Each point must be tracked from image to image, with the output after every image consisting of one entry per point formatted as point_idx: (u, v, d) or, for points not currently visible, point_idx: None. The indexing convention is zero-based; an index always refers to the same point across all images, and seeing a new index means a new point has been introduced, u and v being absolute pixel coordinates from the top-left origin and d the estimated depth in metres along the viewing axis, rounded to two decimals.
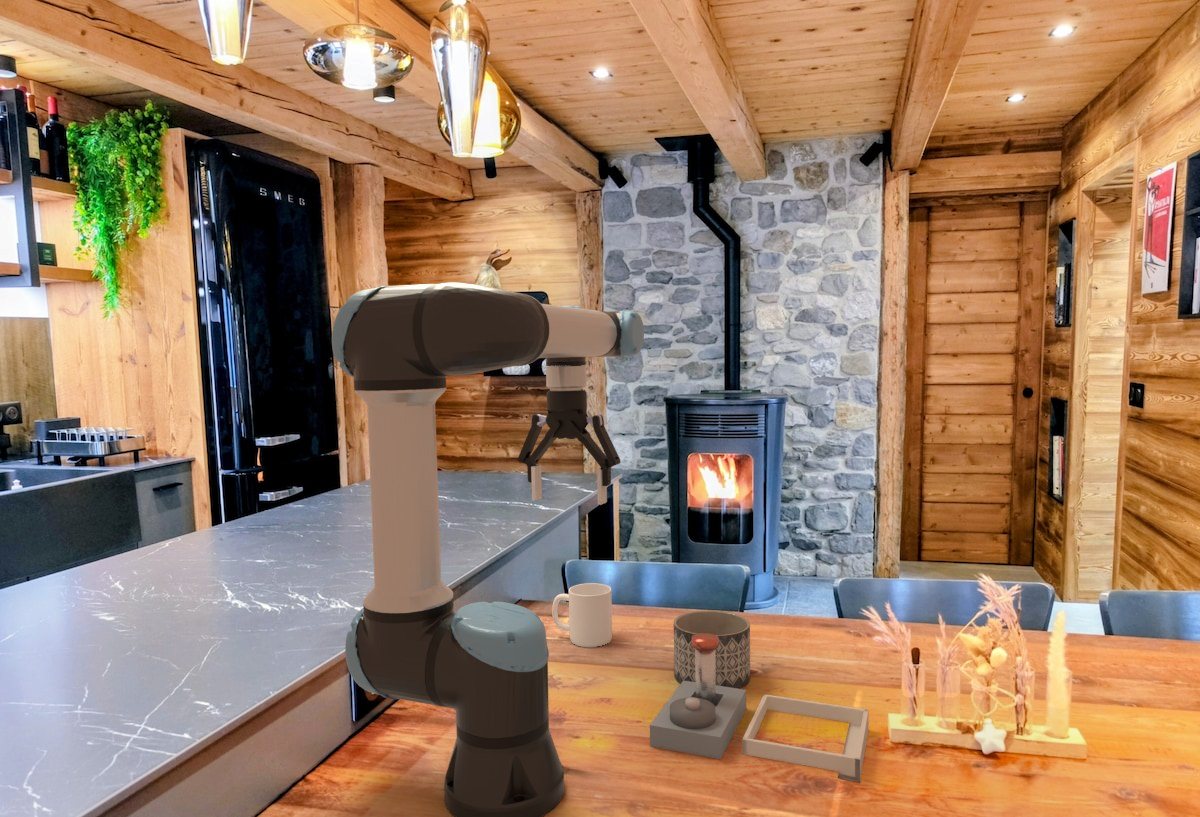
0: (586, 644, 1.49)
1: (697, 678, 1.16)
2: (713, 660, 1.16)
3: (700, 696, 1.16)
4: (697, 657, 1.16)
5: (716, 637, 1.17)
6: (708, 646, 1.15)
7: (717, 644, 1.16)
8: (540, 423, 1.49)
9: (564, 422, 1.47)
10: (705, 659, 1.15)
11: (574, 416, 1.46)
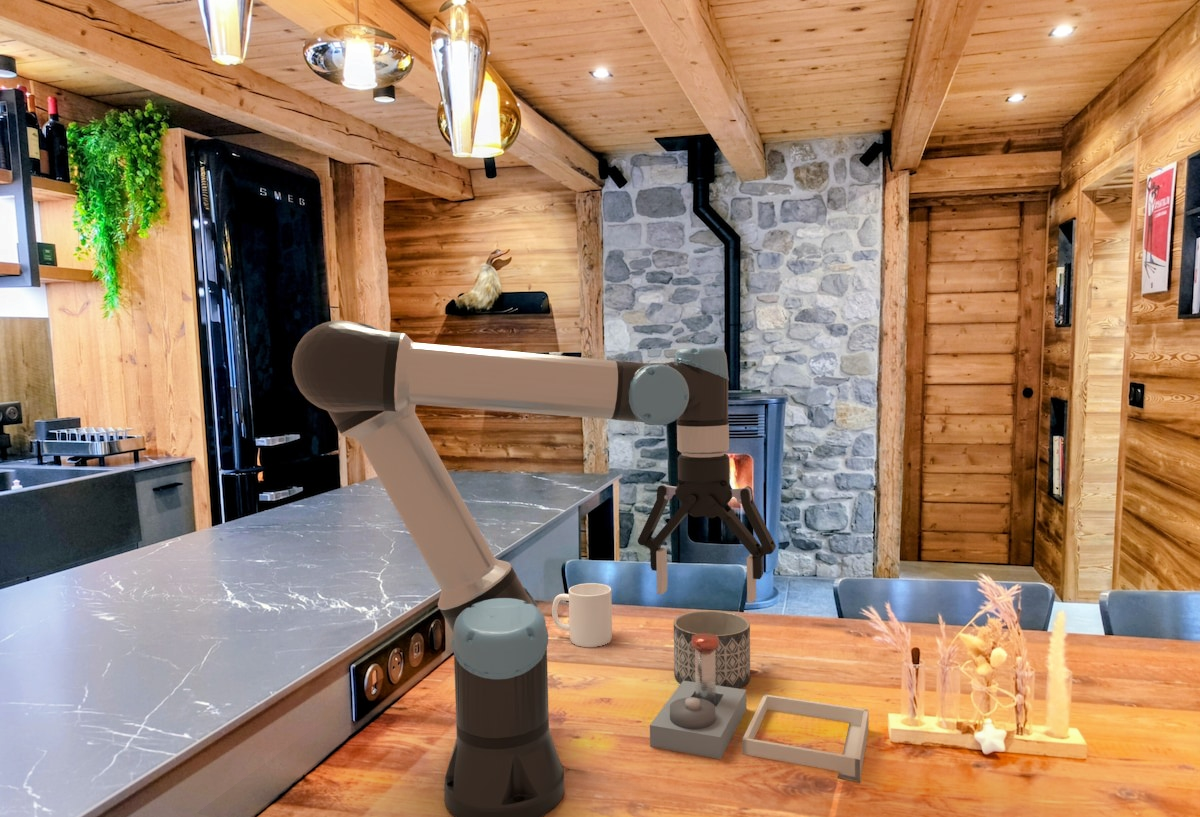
0: (586, 644, 1.49)
1: (697, 678, 1.16)
2: (713, 660, 1.16)
3: (700, 696, 1.16)
4: (697, 657, 1.16)
5: (716, 637, 1.17)
6: (708, 646, 1.15)
7: (717, 644, 1.16)
8: (668, 496, 1.17)
9: (701, 496, 1.14)
10: (705, 659, 1.15)
11: (715, 489, 1.13)
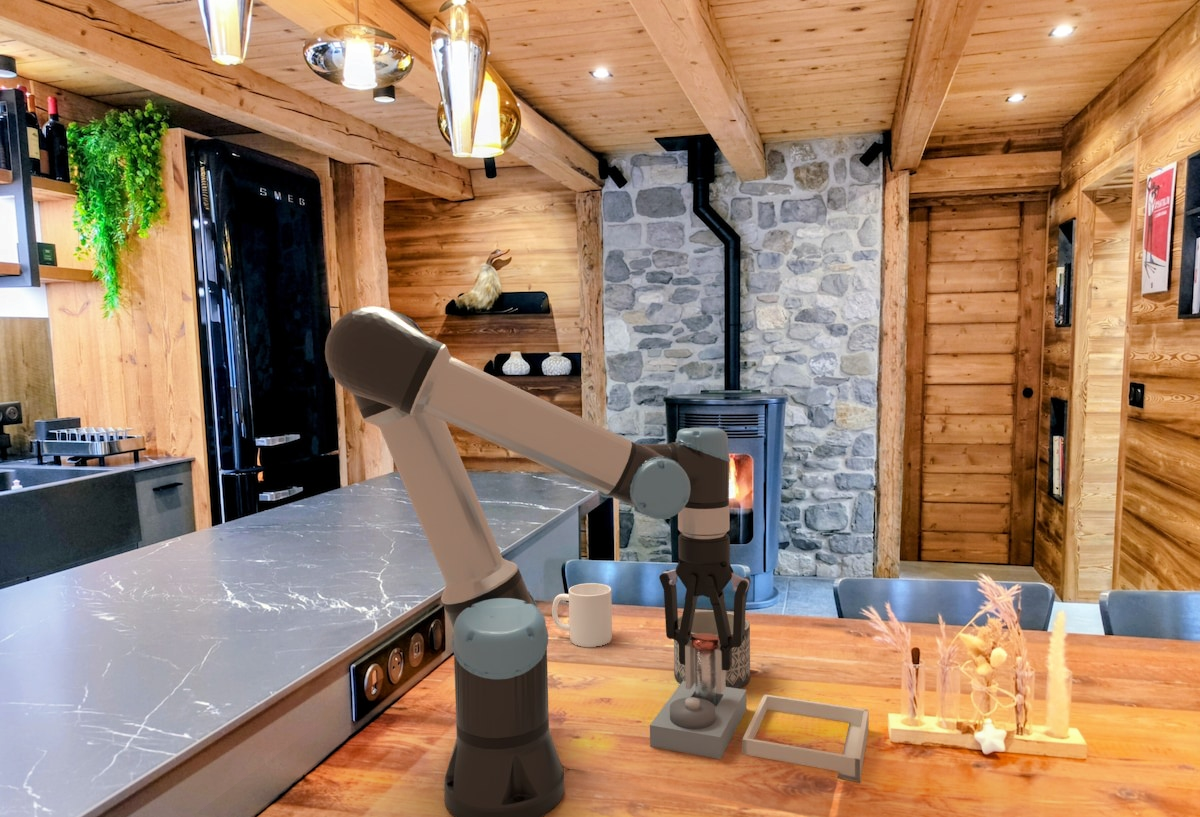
0: (586, 644, 1.49)
1: (697, 678, 1.16)
2: (713, 660, 1.16)
3: (700, 696, 1.16)
4: (697, 657, 1.16)
5: (716, 637, 1.17)
6: (708, 646, 1.15)
7: (717, 644, 1.16)
8: (672, 581, 1.17)
9: (701, 576, 1.15)
10: (705, 659, 1.15)
11: (719, 567, 1.14)
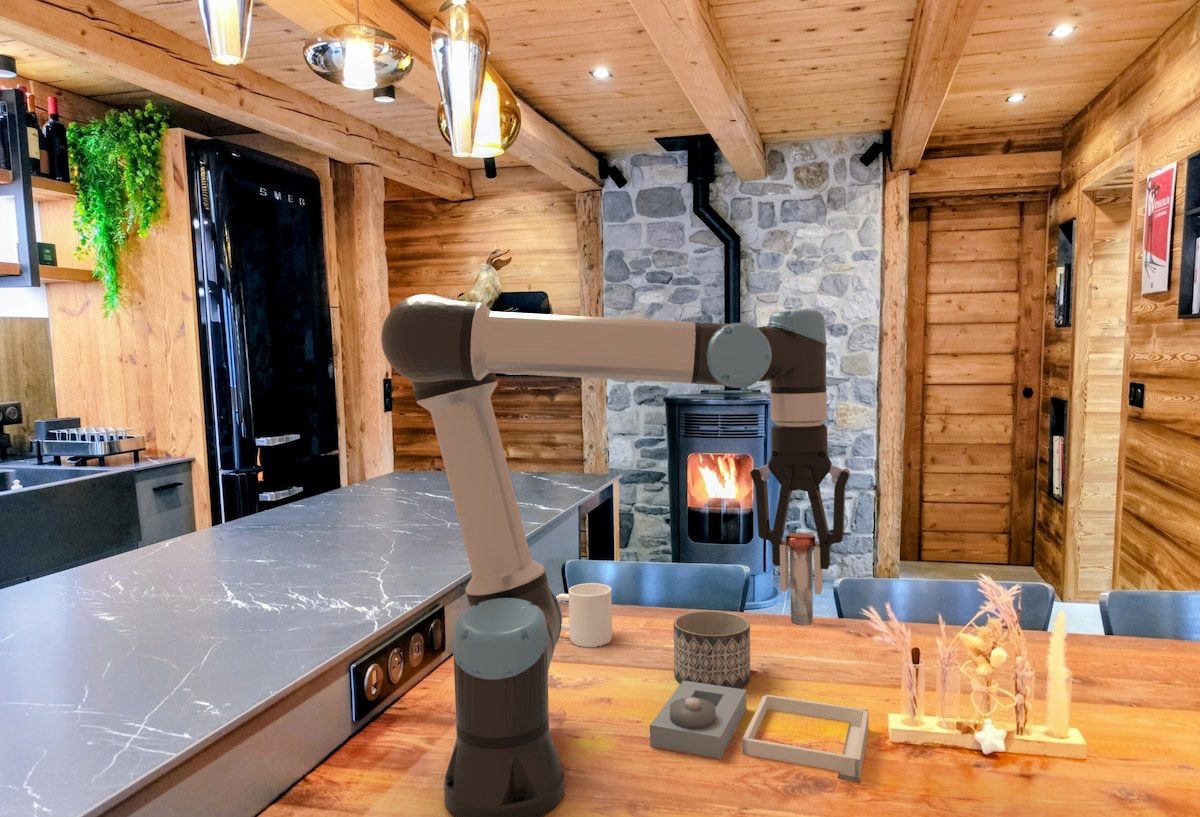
0: (586, 644, 1.49)
1: (793, 579, 1.09)
2: (810, 559, 1.09)
3: (797, 598, 1.09)
4: (793, 556, 1.09)
5: (812, 535, 1.10)
6: (806, 543, 1.07)
7: (814, 541, 1.08)
8: (765, 476, 1.10)
9: (798, 468, 1.08)
10: (802, 557, 1.08)
11: (817, 457, 1.07)
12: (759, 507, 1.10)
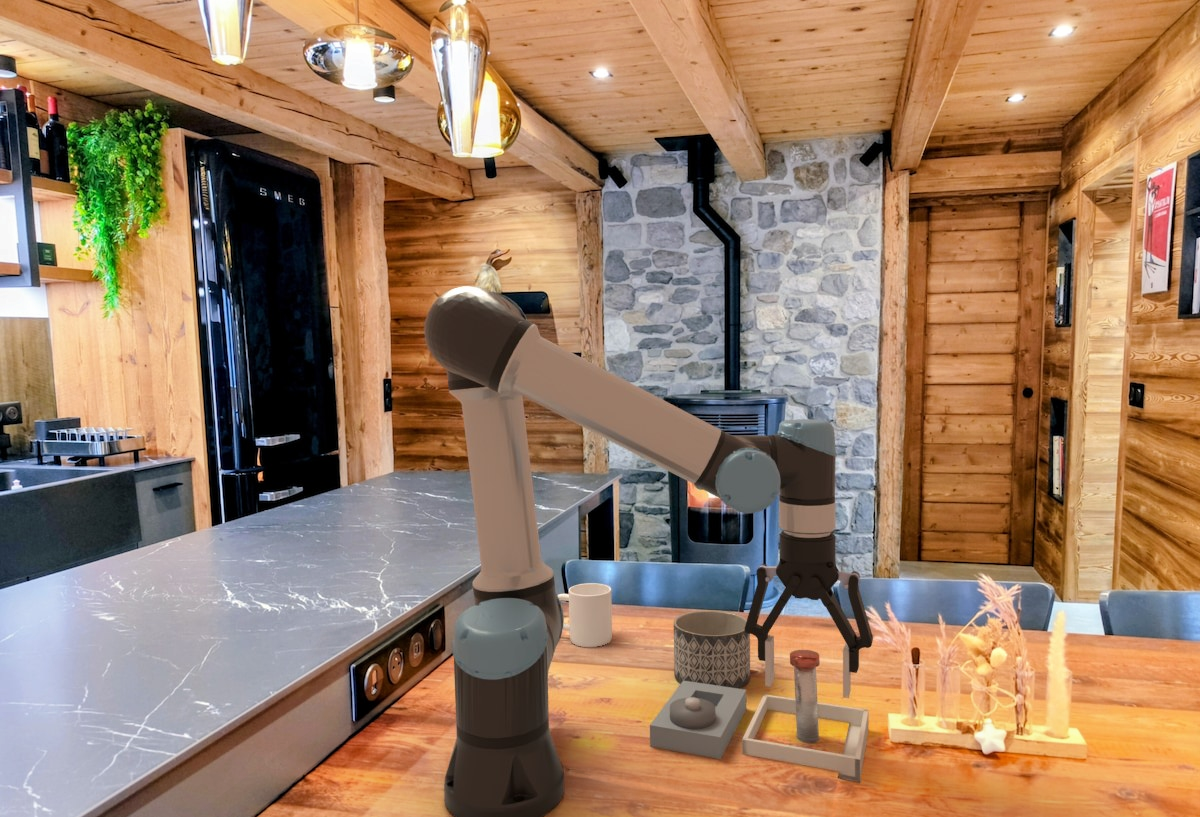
0: (586, 644, 1.49)
1: (798, 698, 1.10)
2: (814, 678, 1.09)
3: (802, 717, 1.09)
4: (797, 675, 1.10)
5: (816, 653, 1.10)
6: (810, 663, 1.08)
7: (818, 661, 1.09)
8: (769, 578, 1.10)
9: (805, 577, 1.08)
10: (806, 677, 1.09)
11: (822, 569, 1.07)
12: (754, 604, 1.11)
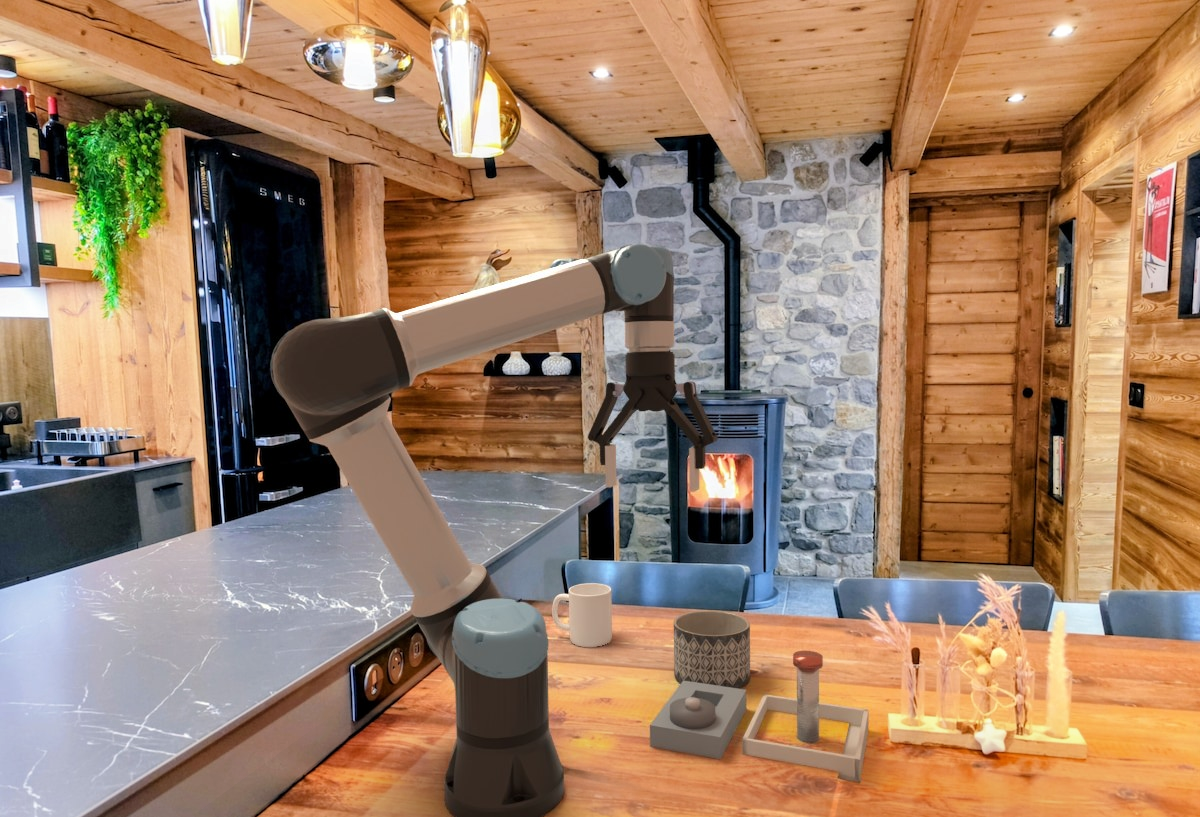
0: (586, 644, 1.49)
1: (799, 699, 1.10)
2: (817, 680, 1.09)
3: (803, 718, 1.09)
4: (800, 676, 1.09)
5: (819, 655, 1.10)
6: (813, 665, 1.08)
7: (821, 663, 1.09)
8: (616, 392, 1.22)
9: (647, 391, 1.19)
10: (809, 679, 1.09)
11: (660, 383, 1.19)
12: (599, 414, 1.23)
